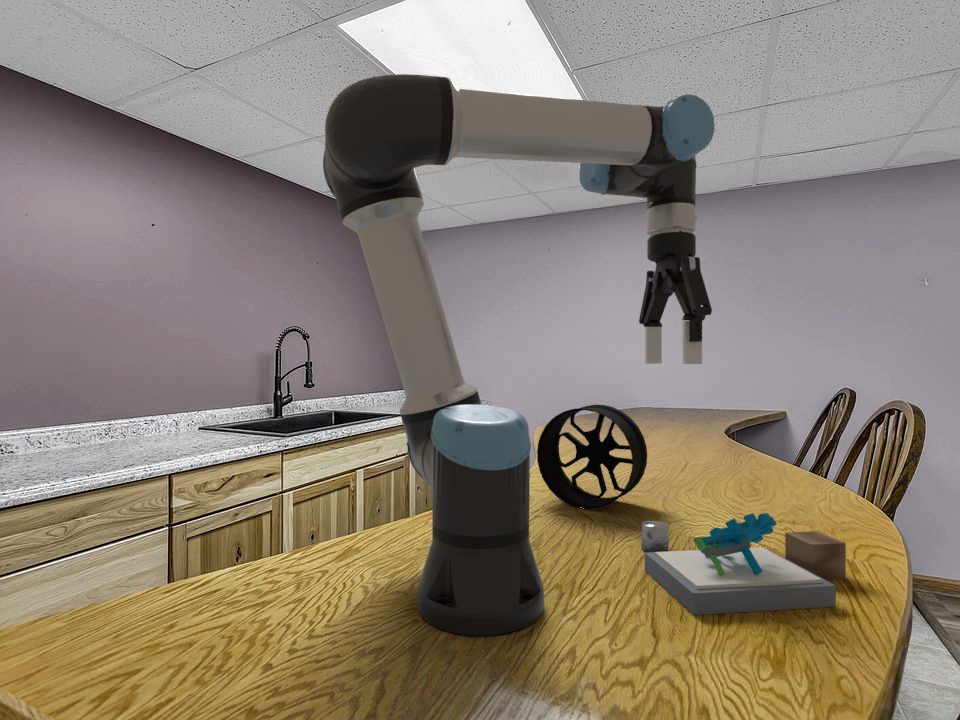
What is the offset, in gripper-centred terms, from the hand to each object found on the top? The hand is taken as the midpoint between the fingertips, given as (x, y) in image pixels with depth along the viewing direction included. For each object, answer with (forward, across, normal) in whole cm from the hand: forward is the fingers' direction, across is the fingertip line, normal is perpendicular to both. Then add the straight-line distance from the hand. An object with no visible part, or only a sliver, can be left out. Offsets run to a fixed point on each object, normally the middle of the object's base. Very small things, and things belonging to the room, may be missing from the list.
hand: (671, 364), depth 87 cm
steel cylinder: (+29, -5, +5) cm, 30 cm away
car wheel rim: (+29, +22, +6) cm, 37 cm away
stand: (+29, -19, +1) cm, 34 cm away
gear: (+26, -19, +1) cm, 32 cm away
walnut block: (+29, -16, -13) cm, 35 cm away
